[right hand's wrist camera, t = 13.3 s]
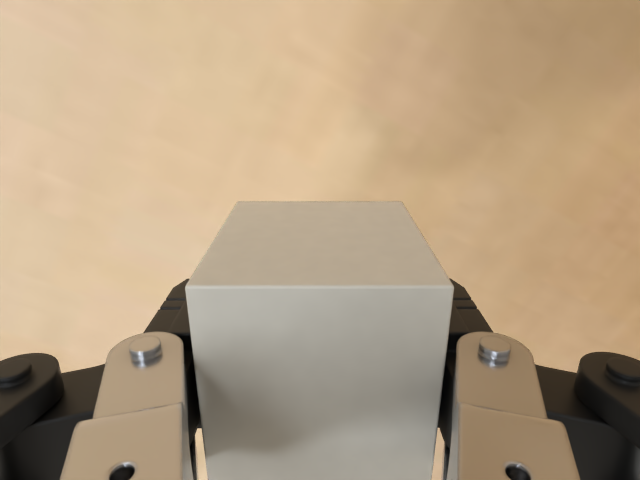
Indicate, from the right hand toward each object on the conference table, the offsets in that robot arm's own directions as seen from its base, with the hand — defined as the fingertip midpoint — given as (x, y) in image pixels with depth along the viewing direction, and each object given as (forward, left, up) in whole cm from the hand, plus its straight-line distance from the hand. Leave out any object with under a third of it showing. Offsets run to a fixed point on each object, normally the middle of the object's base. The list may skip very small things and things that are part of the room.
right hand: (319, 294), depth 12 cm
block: (0, 0, 0) cm, 0 cm away
